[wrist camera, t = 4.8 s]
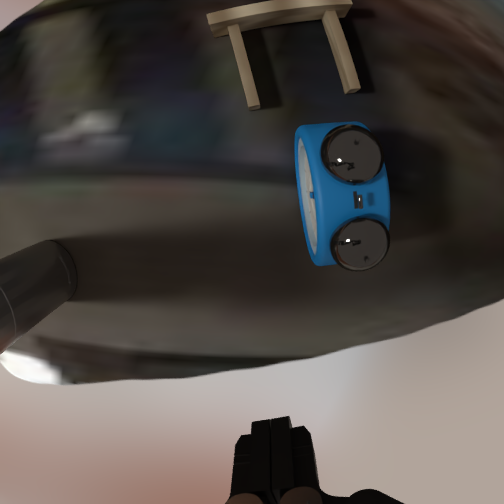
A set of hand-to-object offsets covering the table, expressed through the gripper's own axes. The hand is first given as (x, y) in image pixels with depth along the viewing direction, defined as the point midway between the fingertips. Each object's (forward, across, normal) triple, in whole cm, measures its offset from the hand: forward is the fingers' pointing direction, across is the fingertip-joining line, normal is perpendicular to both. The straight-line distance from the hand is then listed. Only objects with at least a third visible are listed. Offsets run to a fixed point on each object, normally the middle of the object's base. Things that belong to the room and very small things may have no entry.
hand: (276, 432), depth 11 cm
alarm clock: (+27, +8, +6) cm, 29 cm away
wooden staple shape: (+27, +8, +22) cm, 36 cm away
